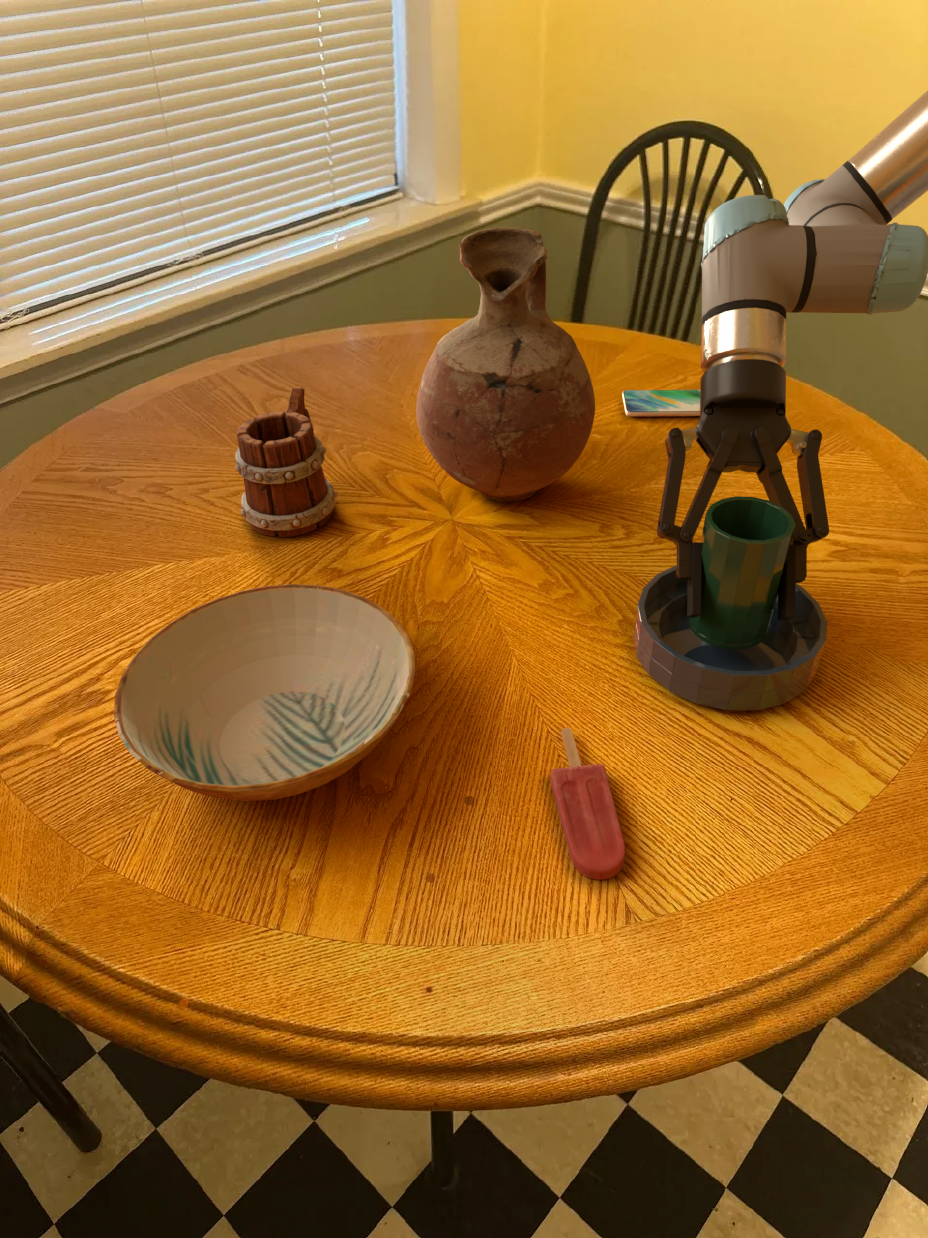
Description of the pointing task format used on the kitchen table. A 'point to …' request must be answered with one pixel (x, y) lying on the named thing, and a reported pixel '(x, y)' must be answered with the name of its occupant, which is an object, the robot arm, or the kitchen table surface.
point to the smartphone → (661, 402)
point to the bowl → (265, 691)
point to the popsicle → (588, 815)
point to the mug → (283, 472)
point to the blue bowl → (726, 651)
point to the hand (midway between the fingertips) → (740, 617)
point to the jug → (506, 378)
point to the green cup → (741, 570)
